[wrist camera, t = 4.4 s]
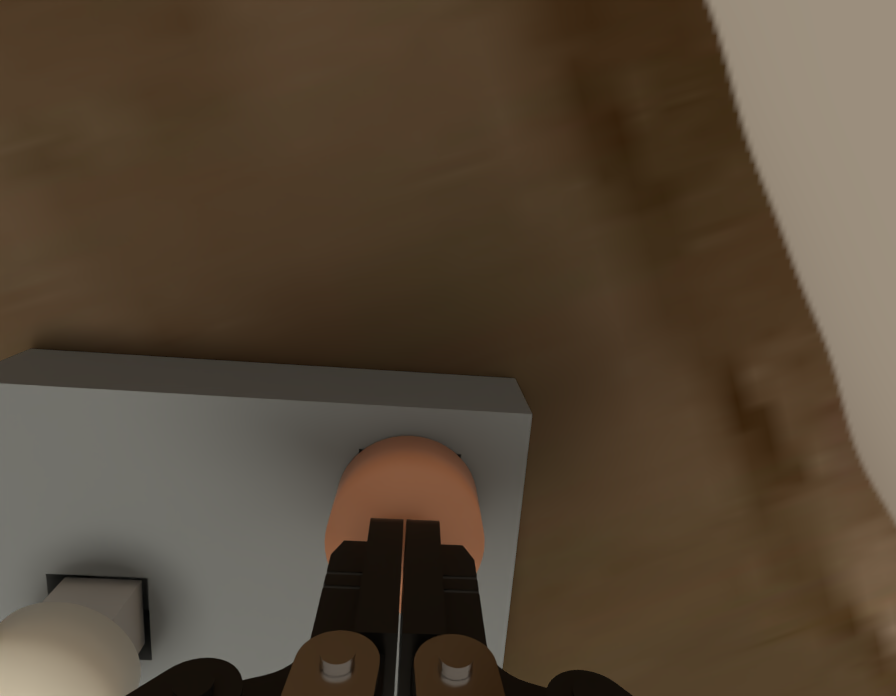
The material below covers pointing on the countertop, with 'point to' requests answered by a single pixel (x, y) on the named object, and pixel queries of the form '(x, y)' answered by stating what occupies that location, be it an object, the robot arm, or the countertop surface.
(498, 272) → the countertop surface
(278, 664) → the panel
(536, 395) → the countertop surface
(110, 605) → the button
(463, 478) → the button
